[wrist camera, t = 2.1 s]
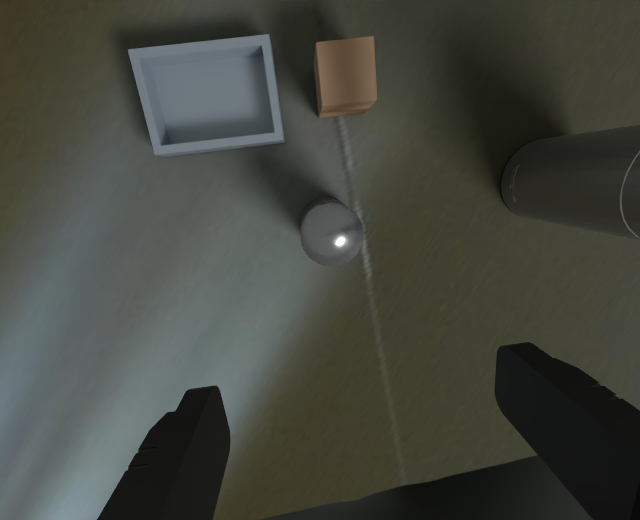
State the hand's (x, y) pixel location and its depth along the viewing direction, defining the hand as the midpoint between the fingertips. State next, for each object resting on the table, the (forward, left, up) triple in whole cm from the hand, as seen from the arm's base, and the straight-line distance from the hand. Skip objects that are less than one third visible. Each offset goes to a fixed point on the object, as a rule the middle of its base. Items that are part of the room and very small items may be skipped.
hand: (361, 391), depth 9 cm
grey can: (-1, 0, -29) cm, 29 cm away
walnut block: (-4, -14, -29) cm, 32 cm away
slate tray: (+9, -14, -29) cm, 33 cm away
